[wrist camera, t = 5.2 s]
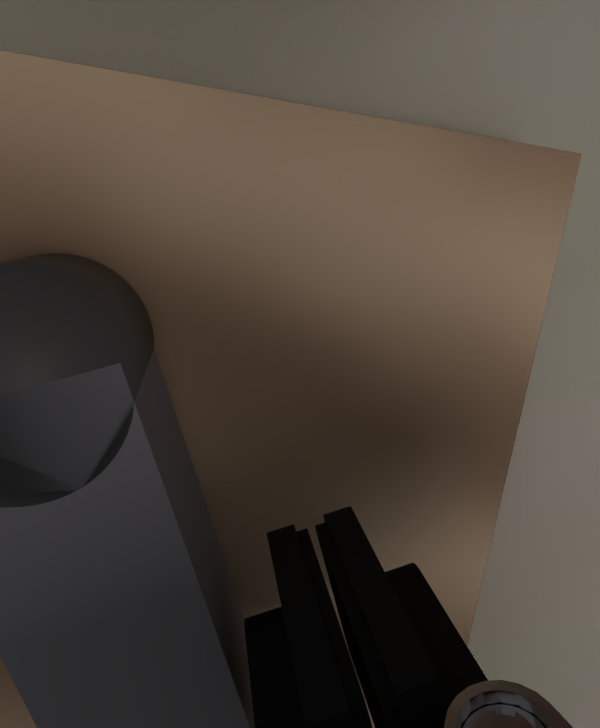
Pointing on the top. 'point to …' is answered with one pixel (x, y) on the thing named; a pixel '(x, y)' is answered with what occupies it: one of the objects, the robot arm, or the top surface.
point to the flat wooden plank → (304, 302)
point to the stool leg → (105, 518)
